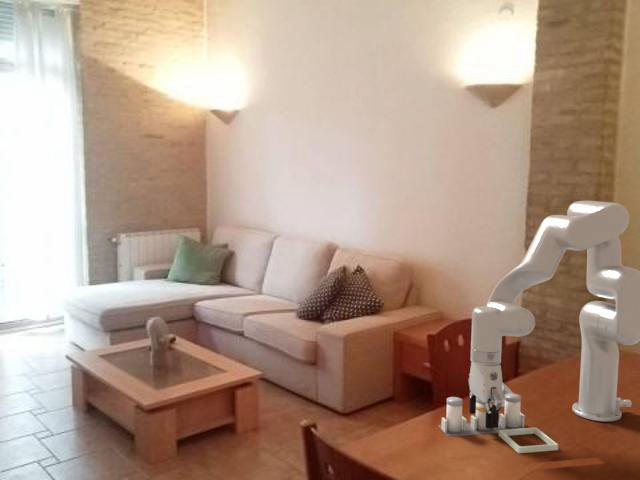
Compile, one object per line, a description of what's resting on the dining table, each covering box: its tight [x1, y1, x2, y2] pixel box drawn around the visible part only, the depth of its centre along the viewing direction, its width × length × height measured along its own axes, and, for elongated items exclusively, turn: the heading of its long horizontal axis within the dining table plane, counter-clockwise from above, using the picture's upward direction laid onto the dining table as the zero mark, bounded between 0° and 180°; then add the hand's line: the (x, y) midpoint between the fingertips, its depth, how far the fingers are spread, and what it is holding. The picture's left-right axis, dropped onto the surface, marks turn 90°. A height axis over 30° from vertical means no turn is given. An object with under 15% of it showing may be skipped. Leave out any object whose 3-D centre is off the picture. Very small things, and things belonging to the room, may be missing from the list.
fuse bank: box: [437, 392, 527, 438], centre depth 163 cm, size 22×7×9 cm, turn 101°
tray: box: [498, 427, 559, 454], centre depth 155 cm, size 10×10×2 cm
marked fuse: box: [475, 397, 493, 431], centre depth 163 cm, size 4×4×8 cm
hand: (483, 420), depth 163 cm, fingers open, 9 cm apart
